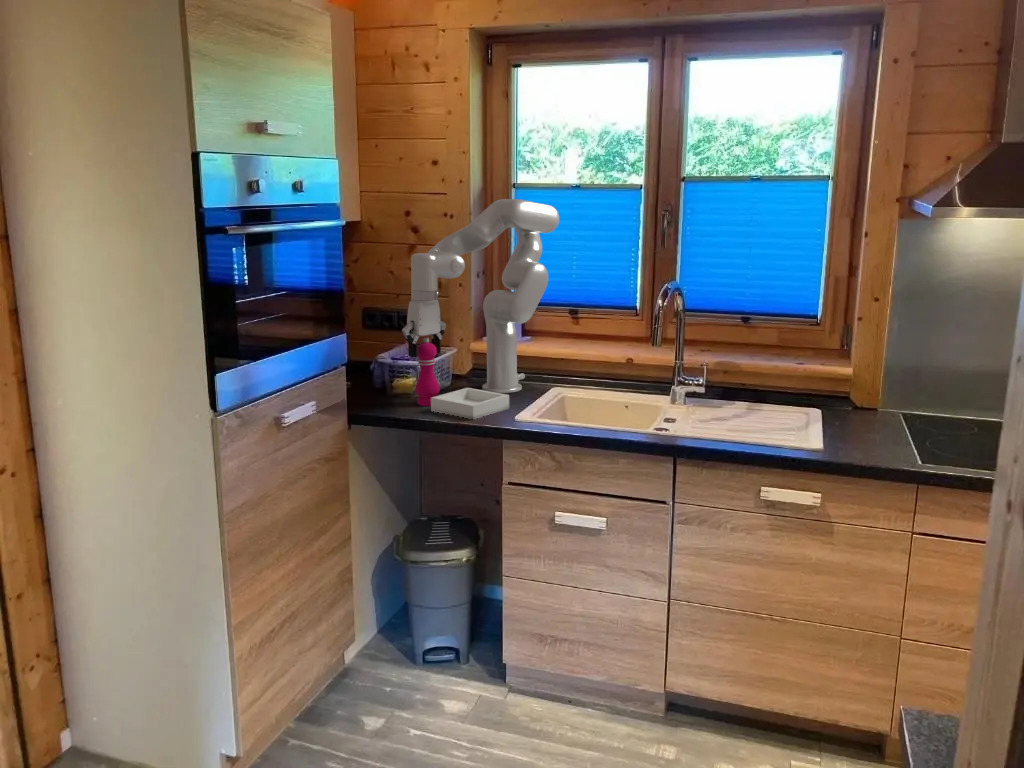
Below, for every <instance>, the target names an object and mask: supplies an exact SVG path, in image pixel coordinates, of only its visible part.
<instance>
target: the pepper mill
mask: <svg viewBox="0 0 1024 768" xmlns="http://www.w3.org/2000/svg"><path fill="white" fill-rule="evenodd" d="M437 354H438V353H437V350H436V347H435V345H433V344H432V342H430V338H429V337H427V336H424V338H423V340H422V342H421V343H419V344H418V357H417V358H418V360H417V361H418V365H419V369H420V370H419V371H420V372H419V376H418V378H417V381H416V382H415V388H414V389H415V391H414V392H415V393H416V395H417V401H416V403H417V405H419V406H422V407H431V398H432V397H435V396H438V394H439V393H440V389H441V388H440V384H439V382H438V379H437V378H436V375H435V372H434V371H435V368H434V367H435V364H436V359H435V358H436V356H437Z"/></svg>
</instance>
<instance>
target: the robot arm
mask: <svg viewBox="0 0 1024 768" xmlns="http://www.w3.org/2000/svg"><path fill="white" fill-rule="evenodd" d="M559 222H560V215H559V212H558V210H557V209H556V208H555V207H554V206H552V205H550V204H545V203H540V202H534V201H531V200H525V199H517V198H502V199H497V200H495V201H494V202H492V203H491V204H489V206H488V207H487V208H485V209H484V210H483V211H482V212H481V213H480V214H479V215H478V216H477V217H475V219H473V220H472V221H471V222H470V223H468V224H467V225H466V226H464V227H462V228H460V229H458V230H457V231H455V232H453V233H450V234H449V235H447V236H445V237H444V238H442V239H441V240H439V241H438V242H437V243H436V244H435V245H433V247H431V249H429V250H428V251H427V252H422V253H421V252H419V253H418V252H417V253H414V254H413V255H411V259H410V264H411V266H410V269H411V270H410V272H411V273H410V276H411V277H410V278H411V281H410V283H411V288H410V289H411V290H410V291H411V296H410V297H411V300H410V301H409V303H408V308H407V314H406V315H407V316H406V317H407V318H406V325H405V326H404V327H403V328H402V330H401V332H402V335H403V337H404V339H405V340H406V343H407V345H408V347H407V348H408V349H407V350H408V354H407V355H408V357H411V358H419V357H418V345H419V344H418V343H417V342H418V340H419V338H420V337H427V336H431V337H432V338H431V343H432V344H433V345H435V347H436V350H437V354H441V353H442V352H441V351H442V350H441V349H442V347H441V346H442V345H441V342H442V341H441V340H442V339H443V336H444V334H445V329H446V326H447V323H445V322H444V321H442V320H441V308H440V302H439V300H438V296H439V291H438V278H441V279H457V278H459V277H460V276H461V275H462V274H463V273H464V271H465V269H466V263H465V260H464V258H463V257H462V256H463V255H465V254H468V253H469V254H470V253H474V252H477V251H480V250H483V249H485V248H487V247H488V246H489V245H491V244H492V242H493V241H495V240H496V239H497V238H498V237H499V236H500V235H501V234H502V233H503V232H504V231H505V230H507V229H509V228H514V230H515V233H516V245H515V247H514V250H513V252H512V254H511V256H510V257H509V260H508V262H507V263H506V266H505V267H504V270H503V272H502V274H501V282H502V285H503V286H504V287H505V288H506V289H508V290H505V289H504V290H503V289H495V290H492V291H490V292H488V294H486V296H485V297H484V300H483V303H482V305H483V307H482V309H483V315H484V321H485V326H486V327H485V328H486V382H485V383H484V384H482V386H481V387H482V388H481V390H483V391H489V392H495V393H500V394H510V393H517V392H520V391H522V390H523V388H522V384H521V383H519V381H520V380H524V379H525V378H526V375H525V373H523V372H522V373H518V358H517V357H518V347H517V346H518V334H517V328H516V325H515V324H520V325H521V324H525V323H527V322H528V321H529V320H531V318H532V317H533V315H534V313H535V311H536V310H537V308H538V305H539V303H540V302H541V300H542V297H543V295H544V293H545V291H546V289H547V287H548V283H549V272H548V270H547V267H545V265H544V264H542V263H540V262H539V261H540V259H541V256H542V253H543V244H542V239H541V236H540V233H541V234H548V233H551V232H553V231H555V229H556V228H557V227H558V225H559V224H560V223H559ZM511 290H512V291H511Z"/></svg>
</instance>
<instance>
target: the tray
mask: <svg viewBox="0 0 1024 768" xmlns="http://www.w3.org/2000/svg"><path fill="white" fill-rule="evenodd" d="M509 409H510V395H509V394H507V393H495V392H489V391H484V390H483V389H477V388H472V387H464V388H462V389H457V390H455V391H454V390H453V391H450V392H447V393H443V394H439V395H437V396H435V397H432V398H431V406H430V411H431V412H433V411H434V413H437V412H439V414H442V413H445V414H444V415H447V414H450V415H449V416H452V415H454V416H453V417H457V416H459V417H458V418H462V417H464V418H463V419H466V418H468V419H467V420H471V419H473V420H472V421H474V419H475V420H478V419H480V418H484V417H487V416H490V414H491V415H493V414H496V413H499V412H503V411H506V410H509ZM483 416H484V417H483ZM477 418H478V419H477Z"/></svg>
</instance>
